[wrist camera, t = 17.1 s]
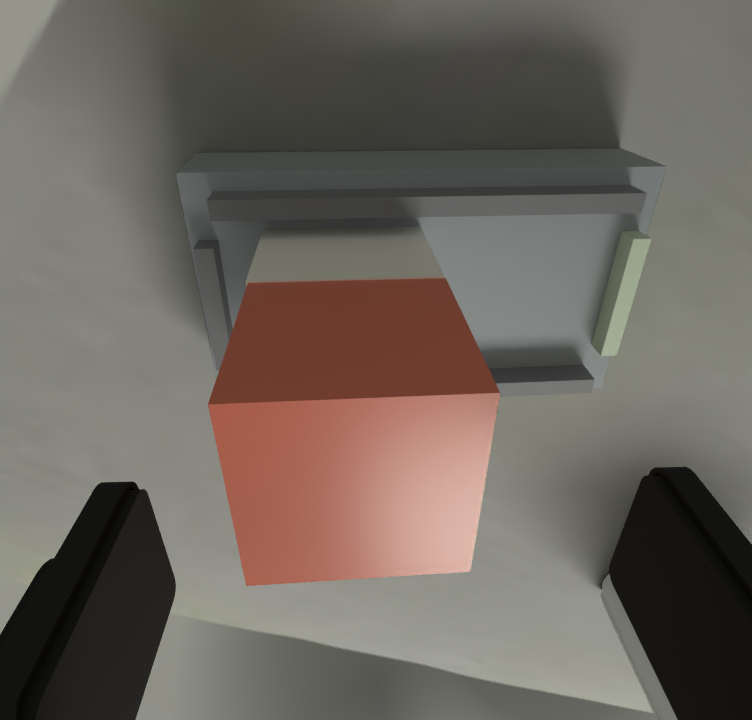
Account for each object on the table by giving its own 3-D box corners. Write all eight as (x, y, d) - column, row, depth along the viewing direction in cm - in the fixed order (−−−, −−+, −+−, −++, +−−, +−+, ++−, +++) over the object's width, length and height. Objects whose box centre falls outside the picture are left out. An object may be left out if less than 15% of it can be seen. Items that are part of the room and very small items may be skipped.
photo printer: (585, 592, 34) (700, 843, 23) (625, 551, 32) (770, 806, 21) (703, 616, 36) (853, 851, 26) (747, 580, 34) (929, 819, 24)
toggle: (420, 226, 17) (444, 275, 13) (413, 358, 19) (431, 427, 16) (263, 229, 16) (245, 281, 13) (278, 362, 19) (267, 435, 16)
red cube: (445, 278, 13) (499, 393, 9) (432, 428, 16) (470, 571, 12) (247, 282, 13) (207, 404, 9) (268, 435, 16) (246, 585, 11)
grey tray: (620, 148, 19) (685, 173, 15) (571, 349, 23) (613, 403, 20) (197, 152, 18) (166, 180, 14) (233, 361, 22) (216, 420, 19)
